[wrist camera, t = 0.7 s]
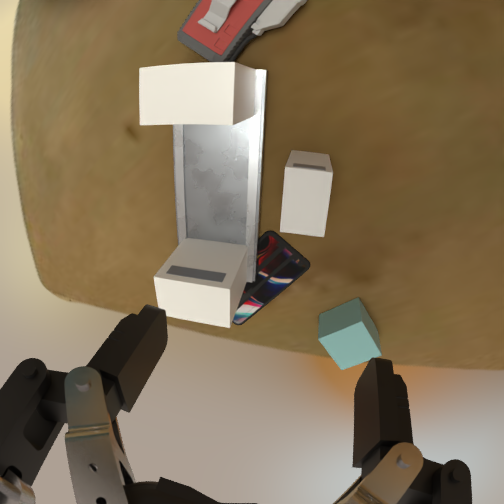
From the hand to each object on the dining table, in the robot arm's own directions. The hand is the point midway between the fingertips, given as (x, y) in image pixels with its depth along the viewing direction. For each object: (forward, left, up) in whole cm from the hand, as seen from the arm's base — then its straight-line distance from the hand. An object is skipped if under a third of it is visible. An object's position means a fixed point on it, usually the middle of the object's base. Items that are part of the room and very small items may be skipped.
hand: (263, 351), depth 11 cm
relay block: (-7, +17, -23) cm, 30 cm away
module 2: (+9, +11, -24) cm, 29 cm away
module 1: (+9, -9, -24) cm, 27 cm away
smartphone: (+5, +15, -26) cm, 31 cm away
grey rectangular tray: (+9, +1, -26) cm, 27 cm away
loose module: (-1, 0, -26) cm, 26 cm away
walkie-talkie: (+5, -20, -25) cm, 32 cm away
